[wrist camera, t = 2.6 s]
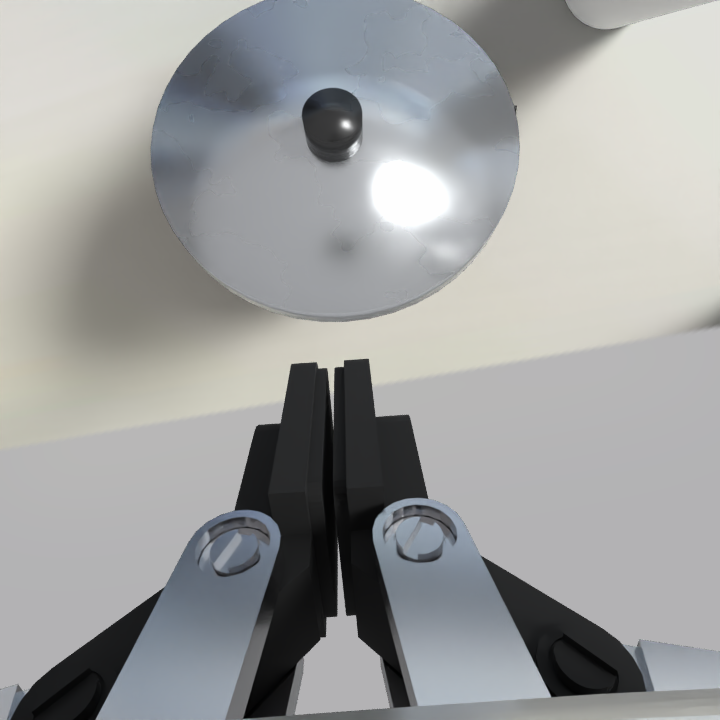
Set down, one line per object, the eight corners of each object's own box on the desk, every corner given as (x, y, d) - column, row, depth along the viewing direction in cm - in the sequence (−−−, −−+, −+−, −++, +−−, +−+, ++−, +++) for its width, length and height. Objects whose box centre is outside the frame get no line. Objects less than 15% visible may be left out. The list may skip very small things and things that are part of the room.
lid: (489, -4, 24) (504, -60, 21) (533, 310, 20) (557, 287, 18) (166, 17, 24) (142, -37, 21) (157, 333, 20) (127, 314, 18)
